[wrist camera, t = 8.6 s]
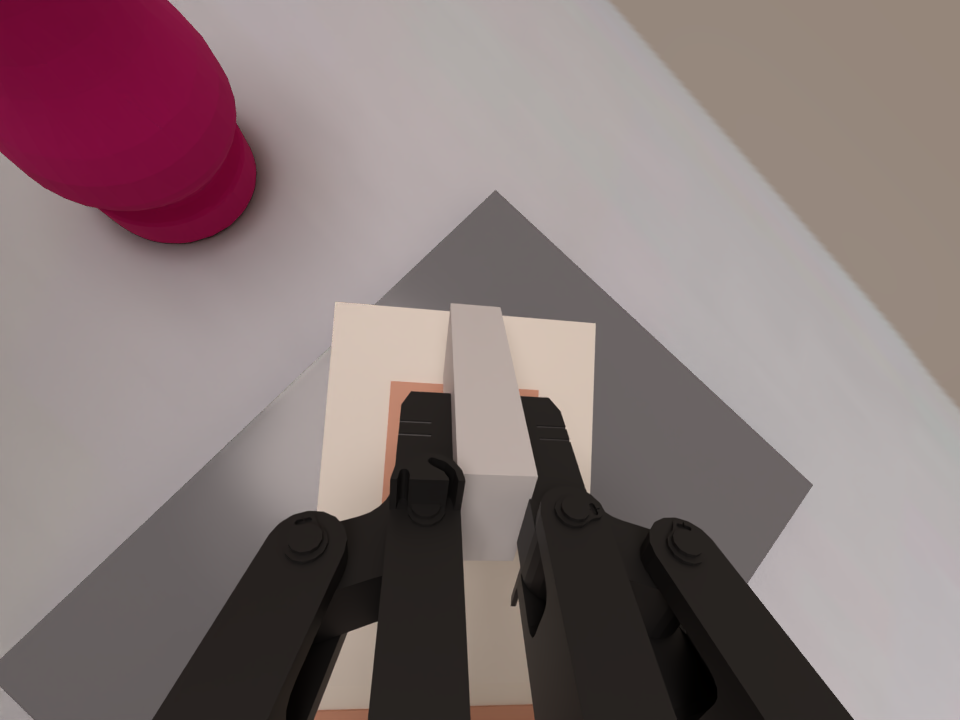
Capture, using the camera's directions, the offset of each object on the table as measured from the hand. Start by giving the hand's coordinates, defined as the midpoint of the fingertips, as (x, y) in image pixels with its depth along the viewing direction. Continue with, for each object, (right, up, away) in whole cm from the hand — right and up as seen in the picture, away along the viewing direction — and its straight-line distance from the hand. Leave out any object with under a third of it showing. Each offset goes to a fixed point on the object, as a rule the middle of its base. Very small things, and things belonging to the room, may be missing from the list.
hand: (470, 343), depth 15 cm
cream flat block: (-1, -11, +2) cm, 11 cm away
